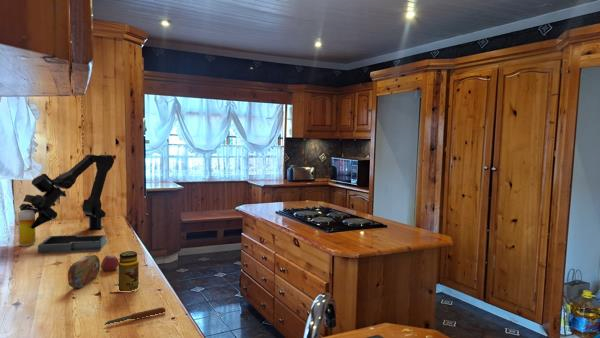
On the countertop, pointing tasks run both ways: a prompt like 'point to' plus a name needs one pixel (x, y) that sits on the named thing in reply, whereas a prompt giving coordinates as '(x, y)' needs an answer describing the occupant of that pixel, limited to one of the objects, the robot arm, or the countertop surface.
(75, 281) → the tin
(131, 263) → the condiment
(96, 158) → the robot arm
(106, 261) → the fruit
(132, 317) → the kitchen knife
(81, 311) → the countertop surface
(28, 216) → the beer can
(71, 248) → the keyhole plate
